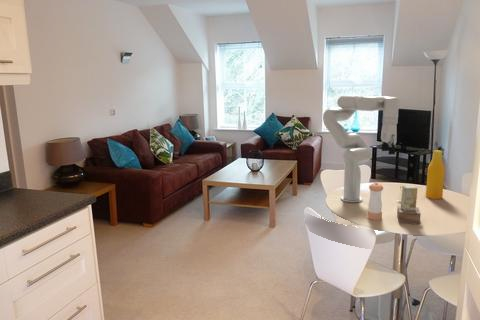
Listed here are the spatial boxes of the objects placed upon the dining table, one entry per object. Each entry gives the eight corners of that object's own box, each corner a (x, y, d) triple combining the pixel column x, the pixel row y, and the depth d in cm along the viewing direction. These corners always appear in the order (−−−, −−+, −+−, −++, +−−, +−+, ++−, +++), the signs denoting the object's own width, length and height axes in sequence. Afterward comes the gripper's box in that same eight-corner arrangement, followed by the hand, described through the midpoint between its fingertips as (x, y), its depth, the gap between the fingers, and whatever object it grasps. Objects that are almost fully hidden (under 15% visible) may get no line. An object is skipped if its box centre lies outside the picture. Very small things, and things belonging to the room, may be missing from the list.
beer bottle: (444, 199, 232) (448, 152, 226) (428, 199, 234) (432, 152, 228) (439, 195, 241) (443, 149, 235) (423, 194, 243) (427, 149, 237)
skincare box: (404, 211, 198) (405, 188, 195) (400, 208, 202) (401, 185, 200) (416, 210, 198) (418, 187, 196) (412, 207, 202) (413, 185, 200)
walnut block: (396, 216, 207) (397, 205, 206) (417, 218, 204) (418, 207, 203) (398, 223, 198) (399, 212, 197) (419, 224, 195) (420, 213, 194)
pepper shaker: (372, 220, 201) (374, 185, 197) (364, 215, 208) (366, 181, 204) (384, 218, 203) (386, 183, 199) (376, 214, 210) (378, 180, 206)
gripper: (377, 119, 213) (375, 149, 216) (389, 122, 196) (387, 155, 199) (390, 118, 213) (388, 149, 216) (404, 122, 196) (401, 155, 199)
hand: (388, 152), depth 208 cm, fingers open, 9 cm apart
